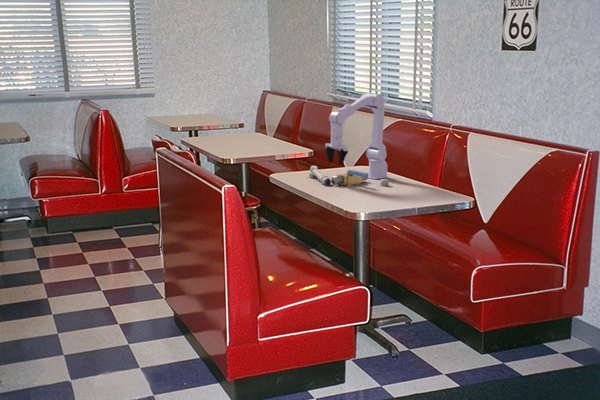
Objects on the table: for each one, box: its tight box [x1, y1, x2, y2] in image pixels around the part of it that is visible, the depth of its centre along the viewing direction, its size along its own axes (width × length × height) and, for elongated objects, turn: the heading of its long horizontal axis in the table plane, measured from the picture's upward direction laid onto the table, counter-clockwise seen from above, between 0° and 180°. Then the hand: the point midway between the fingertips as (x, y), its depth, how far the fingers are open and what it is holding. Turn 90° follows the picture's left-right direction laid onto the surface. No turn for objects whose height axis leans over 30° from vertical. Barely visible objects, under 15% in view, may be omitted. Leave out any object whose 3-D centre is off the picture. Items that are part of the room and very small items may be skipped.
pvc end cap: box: [379, 178, 390, 187], centre depth 365 cm, size 4×4×3 cm
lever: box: [346, 169, 369, 177], centre depth 363 cm, size 3×14×2 cm, turn 39°
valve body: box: [330, 172, 369, 186], centre depth 368 cm, size 21×7×5 cm, turn 129°
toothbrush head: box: [308, 165, 332, 187], centre depth 374 cm, size 5×7×25 cm
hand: (335, 163), depth 366 cm, fingers open, 7 cm apart
